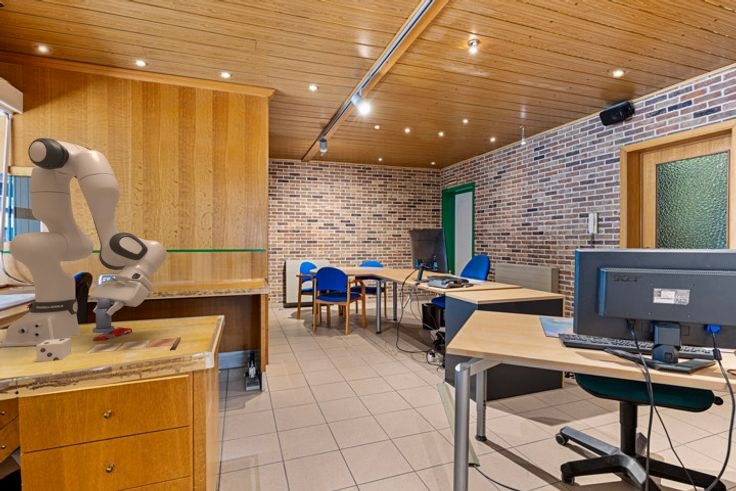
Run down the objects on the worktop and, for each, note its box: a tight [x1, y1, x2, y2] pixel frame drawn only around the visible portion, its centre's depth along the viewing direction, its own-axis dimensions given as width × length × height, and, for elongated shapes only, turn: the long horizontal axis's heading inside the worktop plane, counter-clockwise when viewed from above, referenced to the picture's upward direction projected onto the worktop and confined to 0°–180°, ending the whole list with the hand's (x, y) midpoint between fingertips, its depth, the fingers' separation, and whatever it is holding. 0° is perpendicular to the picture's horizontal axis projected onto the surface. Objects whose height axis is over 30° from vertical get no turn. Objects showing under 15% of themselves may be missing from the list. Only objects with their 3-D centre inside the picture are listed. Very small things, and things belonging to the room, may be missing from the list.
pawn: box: [92, 298, 115, 334], centre depth 115 cm, size 6×6×11 cm
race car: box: [92, 326, 133, 342], centre depth 130 cm, size 13×5×4 cm, turn 163°
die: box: [36, 337, 72, 363], centre depth 106 cm, size 6×6×6 cm
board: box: [86, 336, 181, 354], centre depth 118 cm, size 26×12×1 cm, turn 110°
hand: (101, 313), depth 115 cm, fingers closed on pawn, 4 cm apart
